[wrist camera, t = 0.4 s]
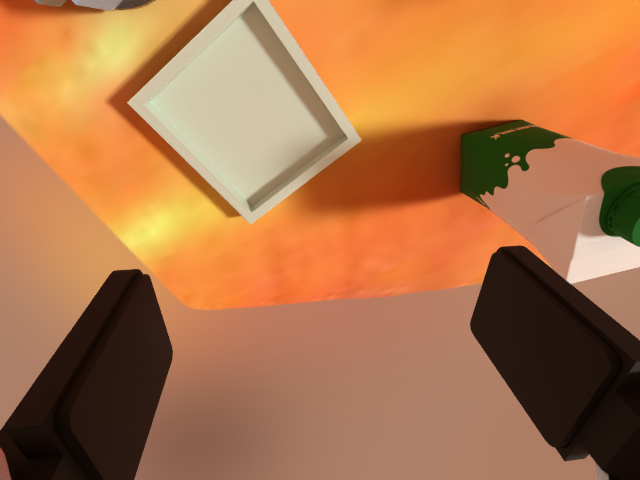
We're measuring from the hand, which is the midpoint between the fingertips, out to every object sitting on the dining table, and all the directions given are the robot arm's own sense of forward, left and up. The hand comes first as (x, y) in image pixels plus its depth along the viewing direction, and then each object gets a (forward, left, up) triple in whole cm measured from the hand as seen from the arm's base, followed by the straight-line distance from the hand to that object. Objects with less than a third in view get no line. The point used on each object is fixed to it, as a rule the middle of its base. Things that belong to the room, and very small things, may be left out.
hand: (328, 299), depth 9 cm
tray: (+3, -2, -29) cm, 29 cm away
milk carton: (-15, +18, -29) cm, 38 cm away
